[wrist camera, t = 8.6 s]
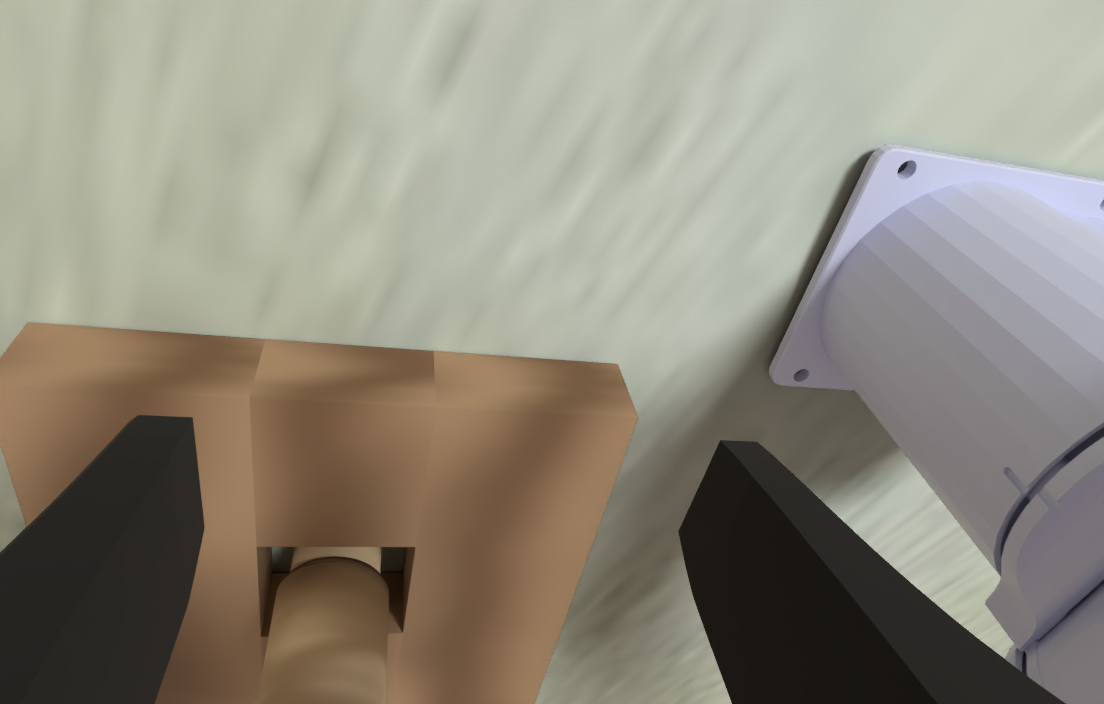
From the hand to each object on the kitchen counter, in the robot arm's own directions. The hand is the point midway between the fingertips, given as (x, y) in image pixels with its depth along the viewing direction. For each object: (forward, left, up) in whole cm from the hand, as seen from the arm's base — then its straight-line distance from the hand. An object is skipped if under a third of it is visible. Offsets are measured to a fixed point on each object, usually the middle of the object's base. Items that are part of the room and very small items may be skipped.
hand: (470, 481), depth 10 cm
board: (+2, +13, -10) cm, 16 cm away
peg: (+2, +13, -10) cm, 16 cm away
